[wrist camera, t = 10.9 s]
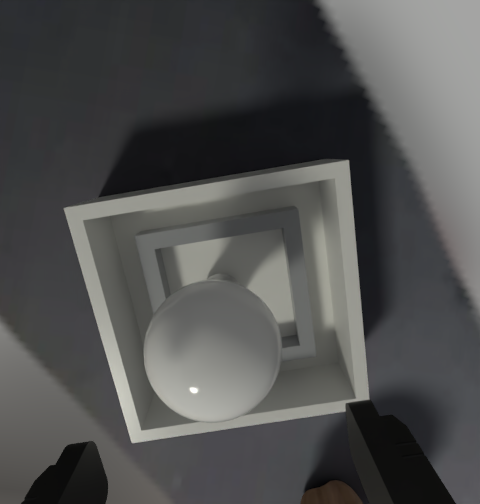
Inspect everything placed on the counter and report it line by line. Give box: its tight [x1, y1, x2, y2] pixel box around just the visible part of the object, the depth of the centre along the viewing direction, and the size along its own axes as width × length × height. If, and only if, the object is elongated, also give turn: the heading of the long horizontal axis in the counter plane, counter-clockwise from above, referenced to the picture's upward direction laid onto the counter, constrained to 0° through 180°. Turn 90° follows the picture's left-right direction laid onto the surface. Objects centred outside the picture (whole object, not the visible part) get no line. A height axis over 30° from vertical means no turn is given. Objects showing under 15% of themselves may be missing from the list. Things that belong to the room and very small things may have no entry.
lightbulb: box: [144, 274, 282, 423], centre depth 19 cm, size 6×6×11 cm
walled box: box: [64, 159, 369, 443], centre depth 23 cm, size 15×15×5 cm
